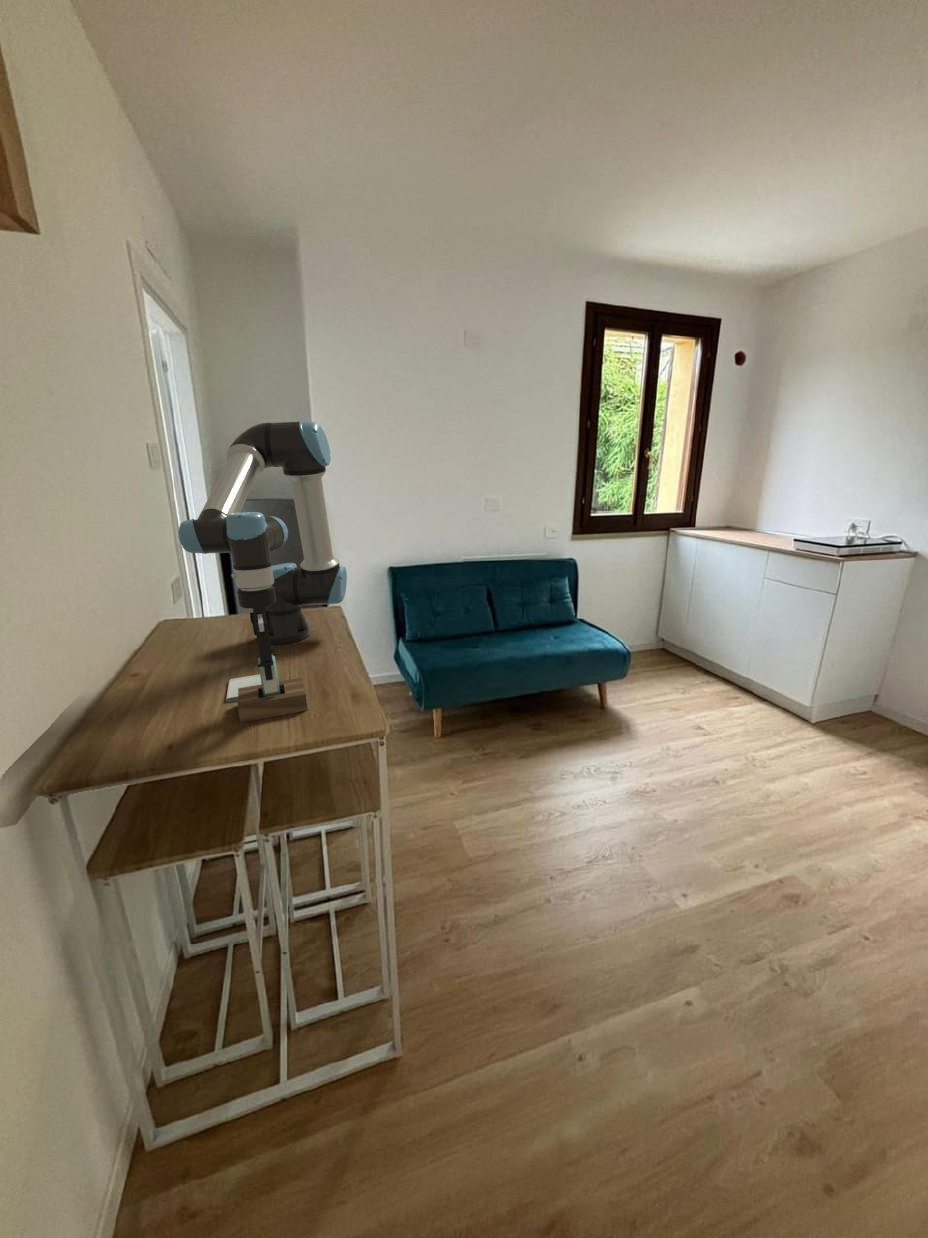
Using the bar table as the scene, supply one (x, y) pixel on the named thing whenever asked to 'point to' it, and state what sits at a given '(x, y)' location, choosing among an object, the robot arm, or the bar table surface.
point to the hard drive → (240, 686)
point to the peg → (276, 680)
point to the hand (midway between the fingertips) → (270, 686)
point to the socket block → (271, 701)
